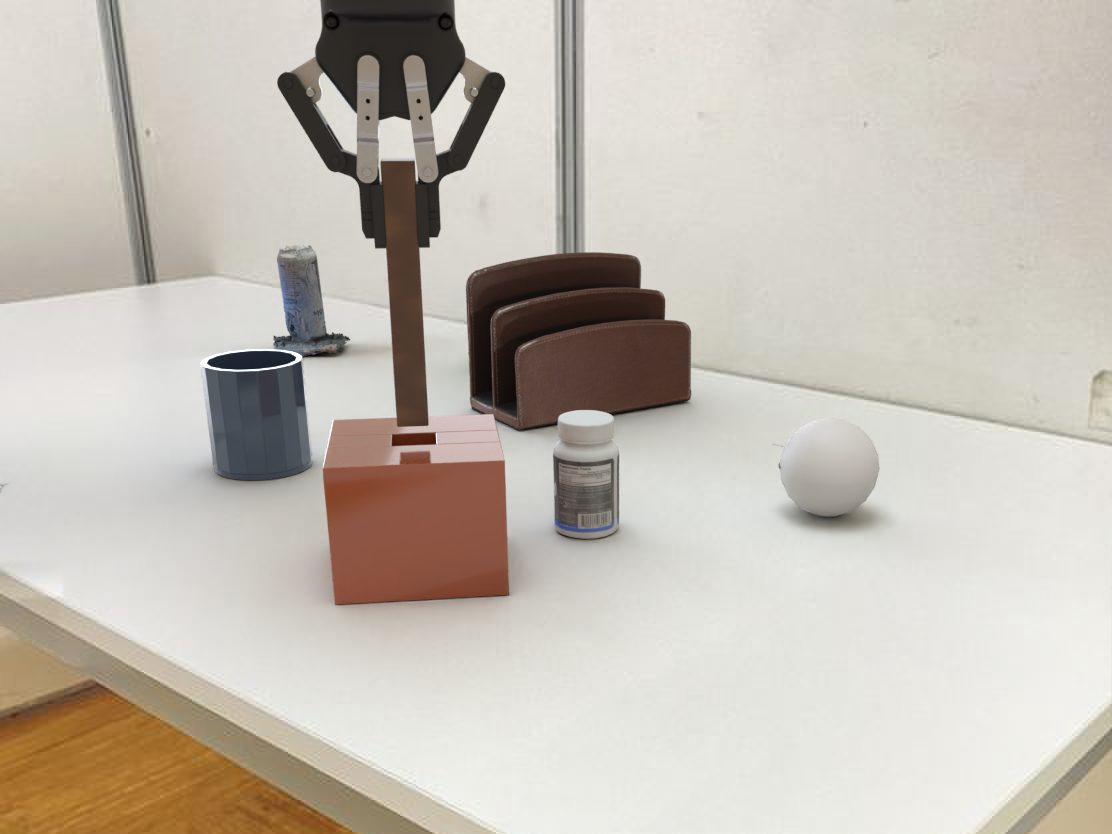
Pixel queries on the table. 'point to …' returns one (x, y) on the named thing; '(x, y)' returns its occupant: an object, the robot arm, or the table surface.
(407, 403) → the stick
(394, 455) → the tissue box
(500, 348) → the letter holder
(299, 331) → the beverage can
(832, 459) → the white ball
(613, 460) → the pill bottle
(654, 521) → the table surface
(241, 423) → the cup
